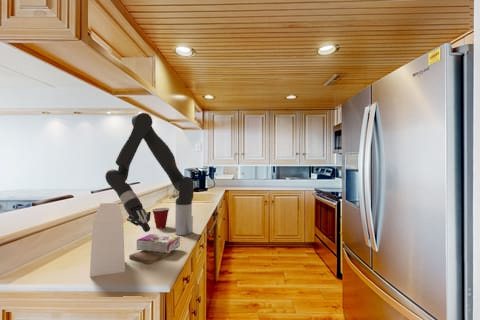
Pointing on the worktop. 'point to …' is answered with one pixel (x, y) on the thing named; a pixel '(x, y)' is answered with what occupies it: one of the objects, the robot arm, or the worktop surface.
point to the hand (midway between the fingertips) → (148, 230)
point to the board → (149, 256)
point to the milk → (107, 241)
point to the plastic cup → (160, 217)
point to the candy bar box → (158, 243)
